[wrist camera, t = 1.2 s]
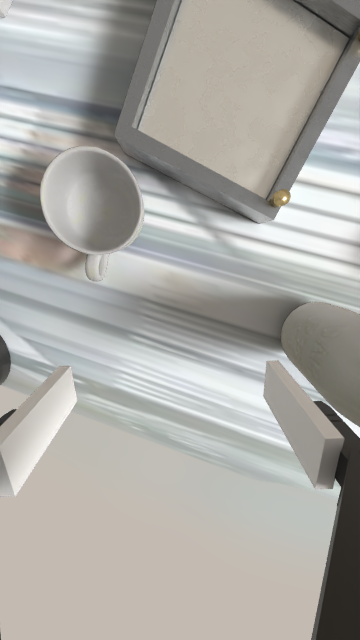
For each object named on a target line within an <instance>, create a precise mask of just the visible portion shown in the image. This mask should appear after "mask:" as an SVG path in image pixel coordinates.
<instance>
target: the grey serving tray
mask: <svg viewBox="0 0 360 640" xmlns="http://www.w3.org/2000/svg"><path fill="white" fill-rule="evenodd" d="M359 62H360V0H157V1H156V4H155V8H154V11H153V14H152V17H151V20H150V23H149V26H148V29H147V33H146V36H145V39H144V42H143V45H142V48H141V51H140V54H139V58H138V61H137V64H136V67H135V70H134V73H133V76H132V79H131V83H130V86H129V89H128V92H127V95H126V98H125V101H124V104H123V108H122V111H121V114H120V117H119V120H118V123H117V126H116V129H115V133H114V136H115V138H116V139H117V141H118V142H119V144H120V146H121V147H122V149H123V150H124V152H125V154H127V155H129V156H131V157H133V158H135V159H137V160H139V161H140V162H142V163H144V164H146V165H148V166H150V167H152V168H154V169H156V170H158V171H159V172H161V173H163V174H165V175H167V176H169V177H171V178H173V179H175V180H177V181H179V182H180V183H182V184H184V185H186V186H188V187H190V188H192V189H194V190H196V191H198V192H199V193H201V194H203V195H205V196H207V197H209V198H211V199H213V200H215V201H217V202H219V203H220V204H222V205H224V206H226V207H228V208H230V209H232V210H234V211H236V212H238V213H239V214H241V215H243V216H245V217H247V218H249V219H251V220H253V221H255V222H257V223H258V224H260V223H264V222H268V221H271V220H274V218H275V217H276V215H277V213H278V211H279V209H280V207H281V206H283V205H285V204H287V203H288V202H289V200H290V192H289V191H290V189H291V187H292V185H293V183H294V182H295V180H296V178H297V176H298V174H299V172H300V171H301V169H302V167H303V165H304V163H305V161H306V160H307V158H308V156H309V154H310V152H311V150H312V148H313V147H314V145H315V143H316V141H317V139H318V137H319V136H320V134H321V132H322V130H323V128H324V126H325V125H326V123H327V121H328V119H329V117H330V115H331V114H332V112H333V110H334V108H335V106H336V104H337V103H338V101H339V99H340V97H341V95H342V93H343V92H344V90H345V88H346V86H347V84H348V82H349V80H350V79H351V77H352V75H353V73H354V71H355V69H356V68H357V66H358V64H359Z"/></svg>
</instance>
